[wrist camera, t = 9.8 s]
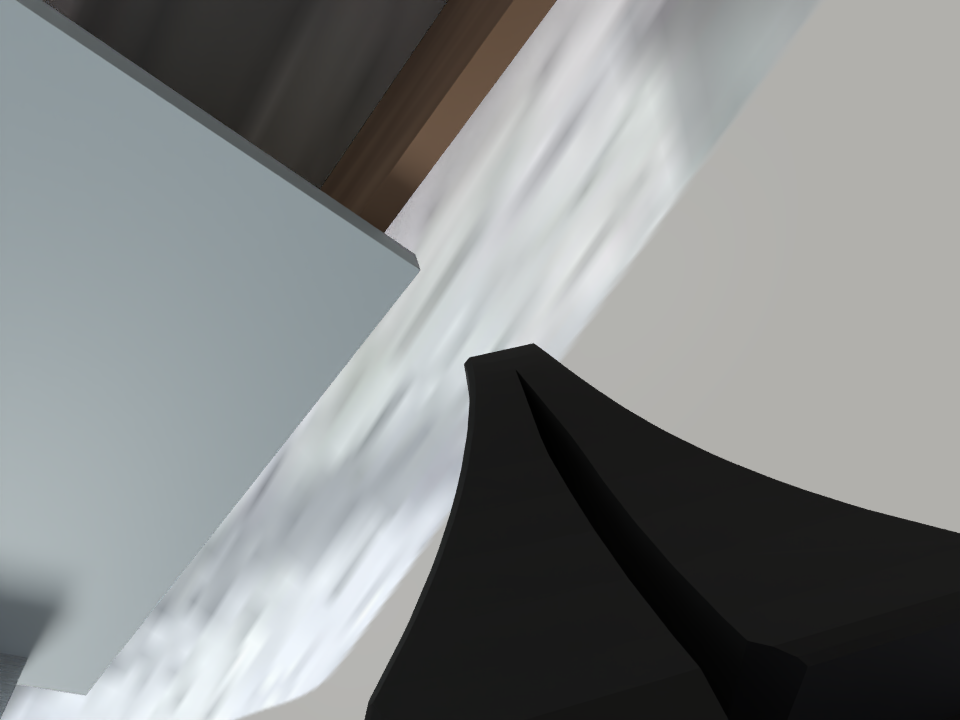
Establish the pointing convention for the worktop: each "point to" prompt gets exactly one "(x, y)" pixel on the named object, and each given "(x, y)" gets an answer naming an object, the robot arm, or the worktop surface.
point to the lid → (145, 336)
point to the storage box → (430, 103)
